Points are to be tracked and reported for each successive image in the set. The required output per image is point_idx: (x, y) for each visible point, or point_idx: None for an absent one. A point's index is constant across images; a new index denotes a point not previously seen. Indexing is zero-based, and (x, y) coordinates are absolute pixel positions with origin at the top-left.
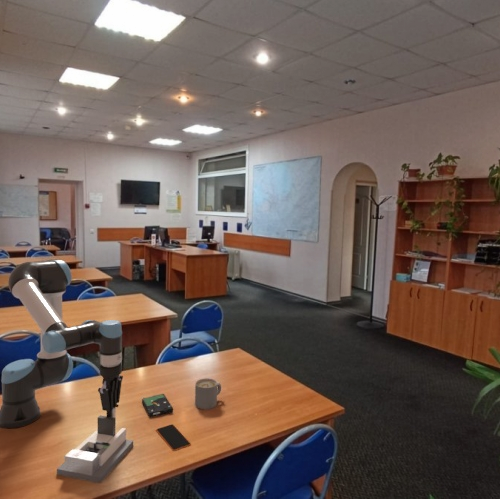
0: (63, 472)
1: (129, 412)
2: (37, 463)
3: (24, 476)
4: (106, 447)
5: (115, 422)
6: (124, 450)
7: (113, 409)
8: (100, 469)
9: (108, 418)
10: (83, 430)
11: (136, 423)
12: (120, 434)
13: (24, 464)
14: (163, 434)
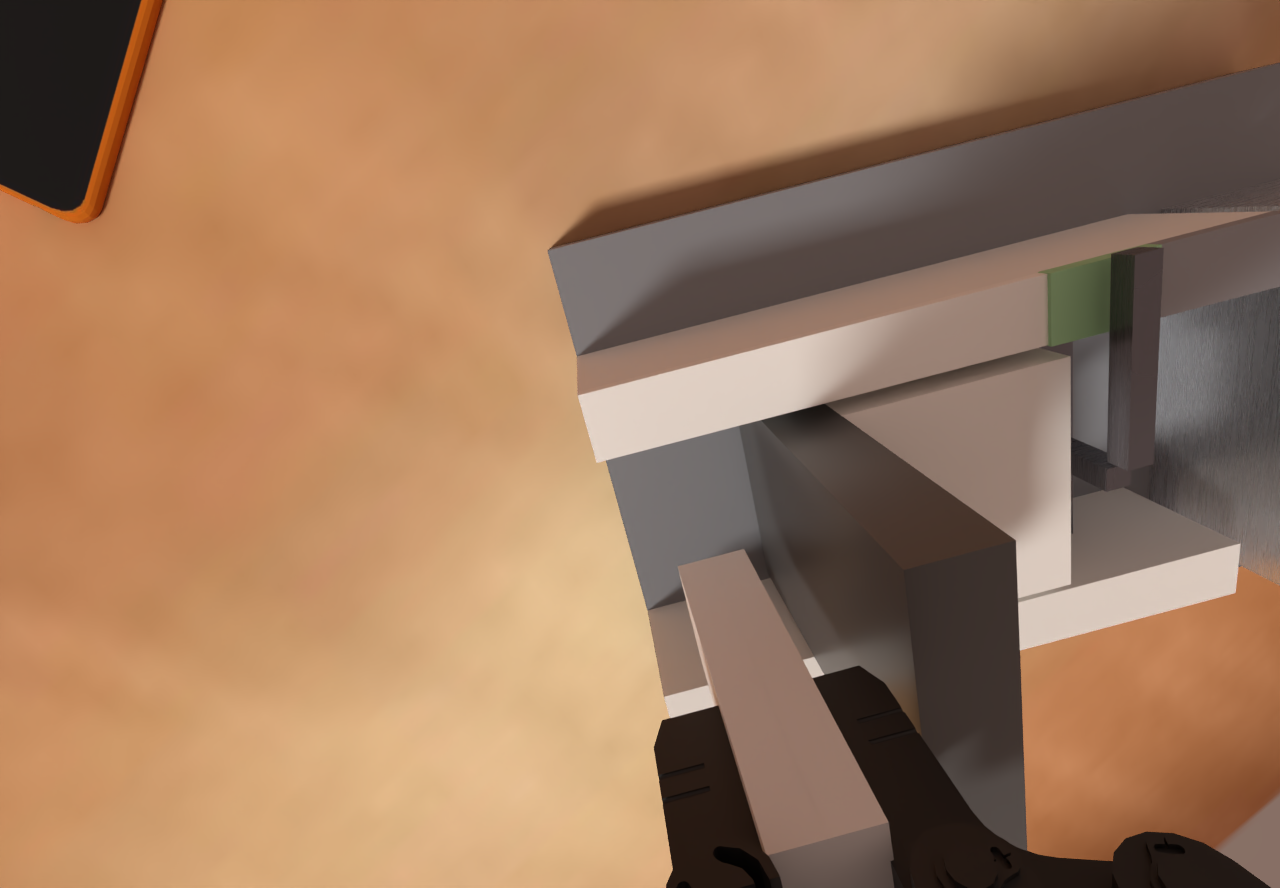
0: None
1: (75, 776)
2: (1109, 756)
3: (1257, 703)
4: None
5: (684, 586)
6: (777, 191)
7: (876, 826)
8: (1183, 174)
9: (987, 671)
10: (612, 847)
11: (175, 556)
12: (757, 348)
13: (1140, 809)
14: (90, 10)
